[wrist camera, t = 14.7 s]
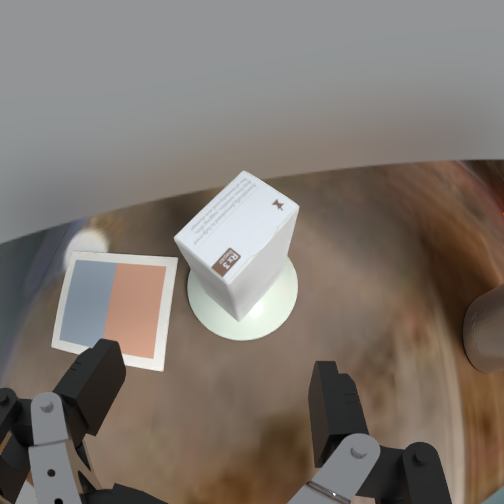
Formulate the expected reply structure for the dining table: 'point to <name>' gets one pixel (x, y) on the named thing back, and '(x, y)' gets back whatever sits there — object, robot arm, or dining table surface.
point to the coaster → (260, 316)
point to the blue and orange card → (117, 305)
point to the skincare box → (239, 243)
